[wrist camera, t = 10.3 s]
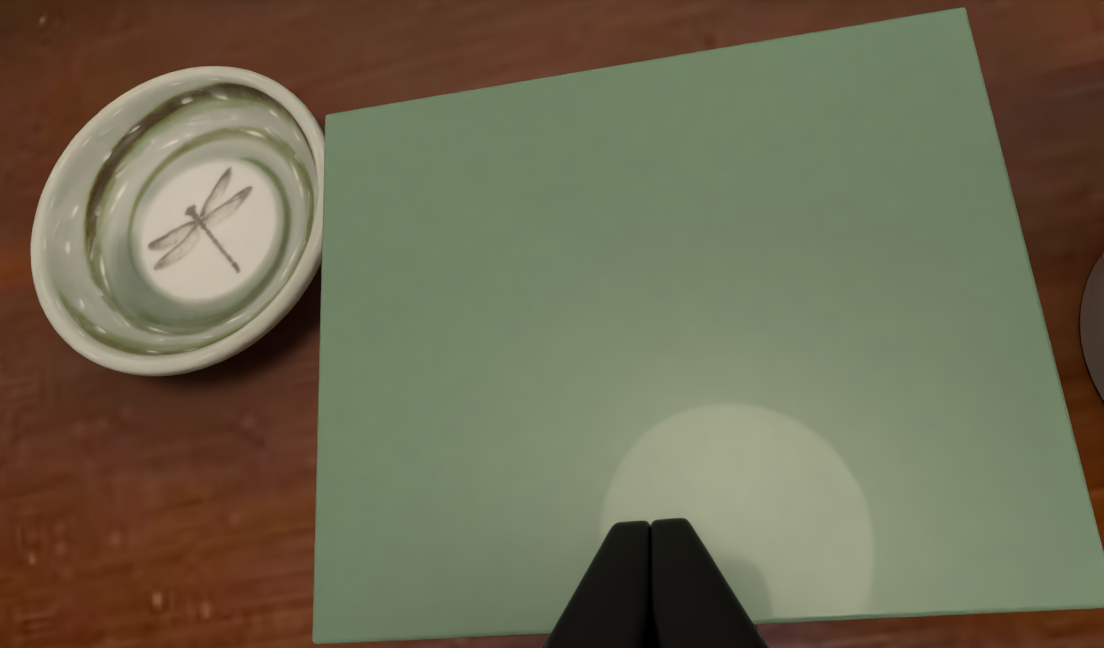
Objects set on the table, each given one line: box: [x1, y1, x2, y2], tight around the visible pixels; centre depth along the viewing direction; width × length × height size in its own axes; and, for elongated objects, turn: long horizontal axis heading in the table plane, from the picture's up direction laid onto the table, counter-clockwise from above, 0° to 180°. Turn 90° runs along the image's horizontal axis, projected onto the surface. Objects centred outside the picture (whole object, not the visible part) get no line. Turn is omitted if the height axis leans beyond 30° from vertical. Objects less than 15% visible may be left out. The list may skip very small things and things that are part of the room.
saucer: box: [31, 66, 325, 376], centre depth 23 cm, size 10×10×2 cm
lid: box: [313, 7, 1104, 644], centre depth 14 cm, size 10×12×1 cm
